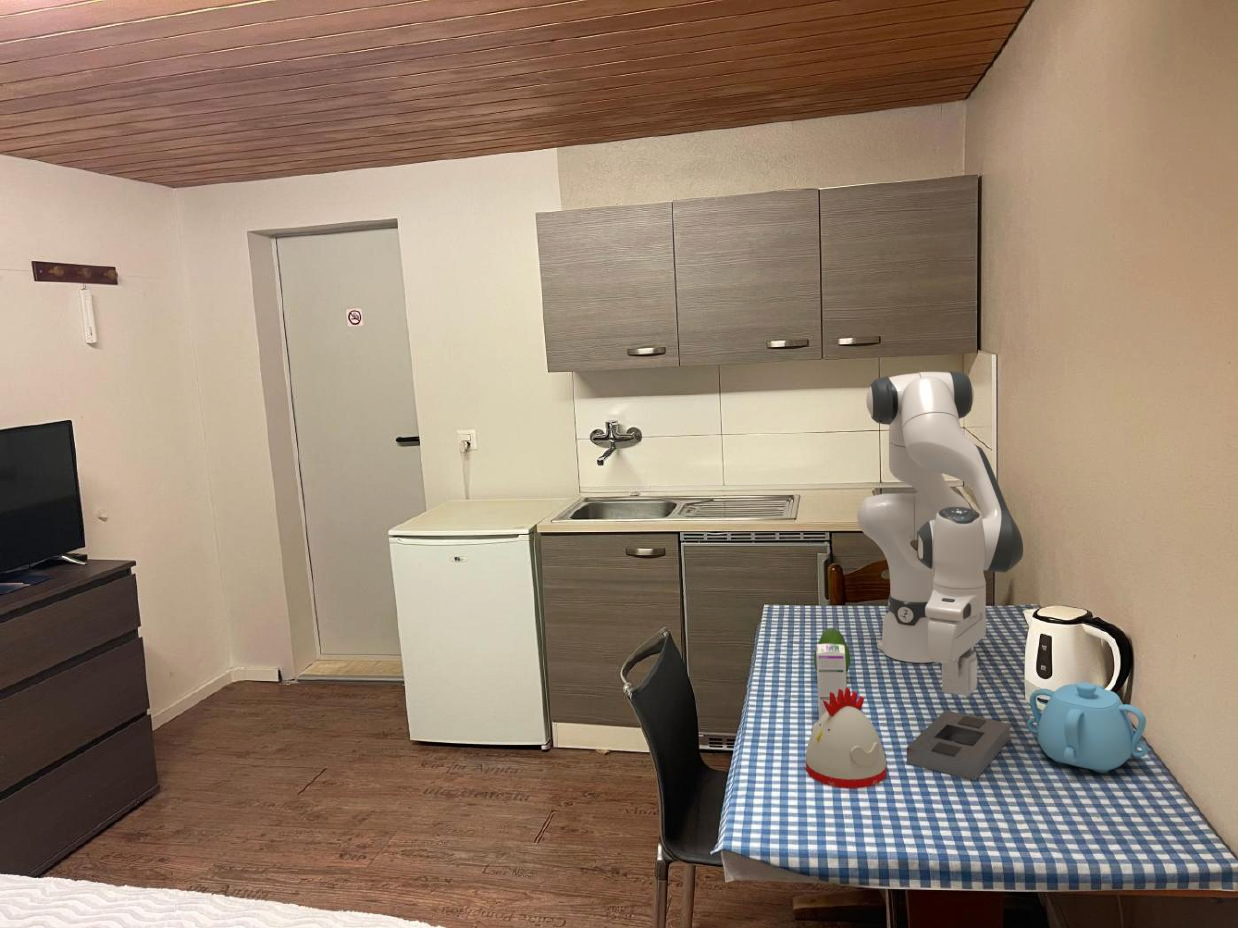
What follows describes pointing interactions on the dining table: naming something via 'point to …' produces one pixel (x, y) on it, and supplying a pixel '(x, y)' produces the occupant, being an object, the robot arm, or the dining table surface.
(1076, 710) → the decorative pot
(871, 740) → the kitchen timer
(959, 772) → the grey flat block
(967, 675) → the stepped metal block
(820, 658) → the syrup box
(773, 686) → the dining table surface
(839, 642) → the avocado
